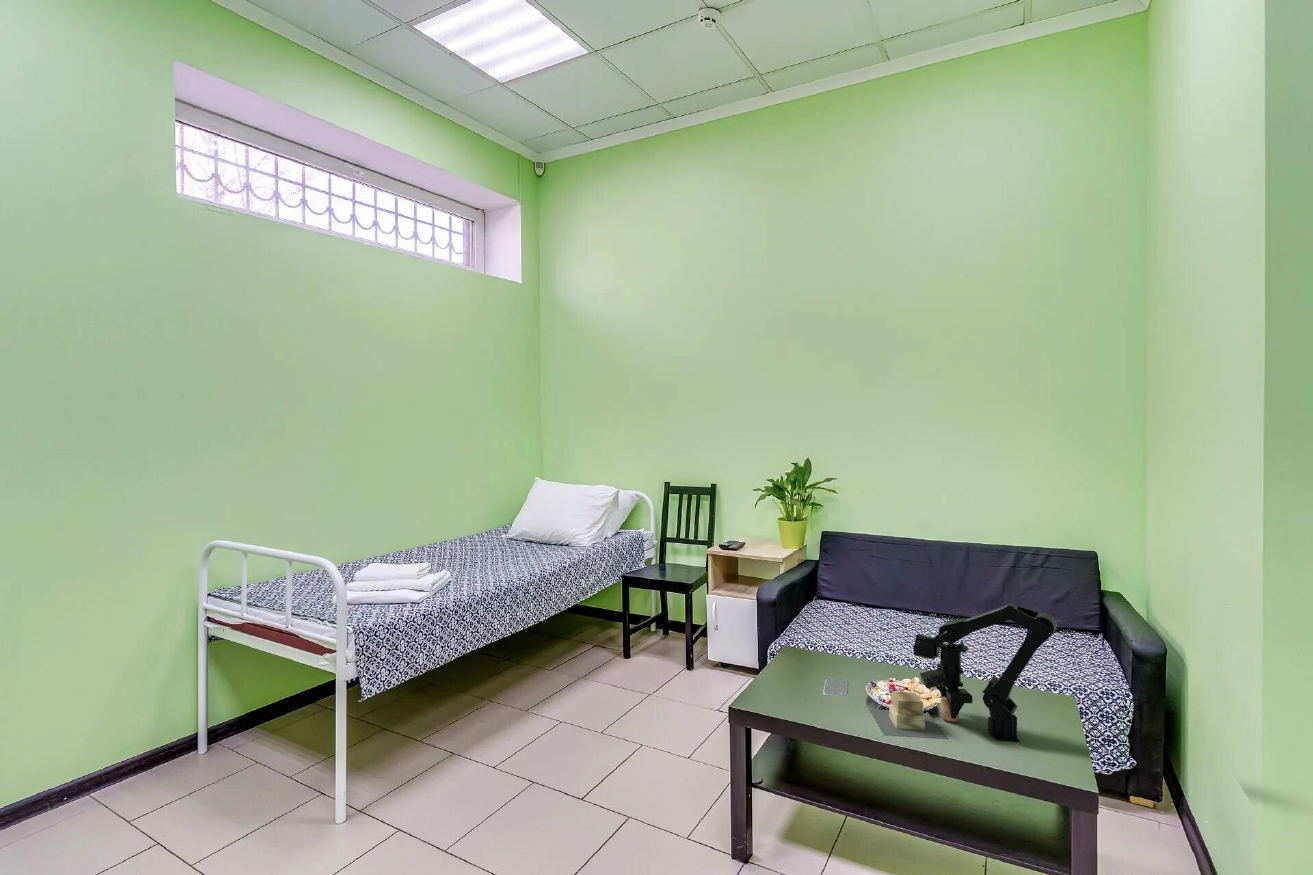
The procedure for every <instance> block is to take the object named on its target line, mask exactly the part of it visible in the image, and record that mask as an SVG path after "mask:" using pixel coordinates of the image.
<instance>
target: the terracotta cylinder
mask: <svg viewBox="0 0 1313 875" xmlns="http://www.w3.org/2000/svg"><path fill="white" fill-rule="evenodd" d="M940 718H941V719H943V720H944V721H947V722H952V723H953V722H954V723H956V722H959V721H960V712H959V713H958V715H957V716H956V718H955V719H952V718H951V714H950V707H949V701H948V700H947V699H946V698H945V697H942V698H941V697H940Z"/></svg>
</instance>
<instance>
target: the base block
mask: <svg viewBox="0 0 1313 875" xmlns="http://www.w3.org/2000/svg"><path fill="white" fill-rule="evenodd" d="M888 708H889V709H888V710H889V717H890V719H891V720H892V722H893V723H894V725H895V726H896V728H897V729H914V730H925V716H924V715H923V716H920V715H902V714H898V713H897V712H896V710H895V709H894V707H893V706H892V703H889V707H888Z"/></svg>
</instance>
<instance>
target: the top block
mask: <svg viewBox="0 0 1313 875" xmlns="http://www.w3.org/2000/svg"><path fill="white" fill-rule="evenodd" d="M891 704H892V706H893V707H894V709H895V710H896V712H897V713H898V714H902V715H920V716H923V712H924V711H923V710H924V709H923V708H924V707H923V706H924V702H923V700H922V699H921V698H920V697H919V695H918V694H917V692H913V691H912V692H909V691H891Z"/></svg>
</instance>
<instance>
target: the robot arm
mask: <svg viewBox="0 0 1313 875" xmlns="http://www.w3.org/2000/svg"><path fill="white" fill-rule="evenodd" d="M1006 621H1012V622H1014V623H1016V624H1017V625H1019V626H1021V627H1022V628H1024V629H1027V632H1026V634H1025V638H1024V640H1023V642H1022V643H1021V645H1020V647H1019V649H1018V650H1017V652H1016V653H1015V654H1014V656H1013V657H1012V659H1011V661H1010V662H1009V664H1008V665H1007V667H1006V668H1005V670H1004V671H1003V672H1002V675H1001V676H1000V677H998V678H997V677H996V676H995V675H992V677H991V678H990V680H989V681H988V683H987V684H986V686H985V687H984V688H983V690H982V693H983V695H982V701H983V704H984V705H985V706H986V708H987V709H988V710H989V716H988V718H987V728H986V729H987V730H986V731H987V732H988V733H989V734H990V735H991V736H992V737H993V738H994V740H997V741H1007V742H1009V741H1010V742H1020V741H1021V740H1020V738H1019V737H1018V717H1017V716H1016V715H1015V713H1016V711H1017V709H1018V705H1017V703H1015V701H1013V699H1012V698H1011V694H1012V692H1013V689H1014V685H1015V684H1016V682H1017V680H1018V678H1019V677H1020V675H1021V674H1022V672H1023V671H1024V669H1025V667H1026V666H1027V665H1028V663H1029V662H1030V660H1031V658H1032V657H1033V656H1034V654H1036V651H1038V650H1037V649H1039V648H1040V647H1041V646H1042V645H1043V644H1045V643H1046V642H1047V641H1048V639H1050V638H1051V637H1052V635H1053V634H1054V633H1055V632H1056V629H1058V628H1057V627H1058V621H1057V619H1056V618H1055V617H1054V616H1053V615H1052V614H1051V613H1048V612H1038V611H1036V610H1033V609H1030V608H1026V607H1023V606H1019V605H1017V604H1015V603H1008V604H1007V603H1006V605H1004V606H1001V607H998V608H995V609H992V610H989V611H986V612H983V613H980V614H977V615H974V616H971V617H967V618H956V619H950V620H947V621H945V622H944V623H943V624H942V625H940V626H939V629H938V634H937V635H935V636H934V637H932V636H927V635H923V634H920V633H919V634H918V633H917V634H916V635H915V640H914V644H913V646H912V647H913V648H912V650H913V654H914V657H919V658H924V659H927V660H933V661H935V660H936V658H939V657H940V658H939V660H940V661H939V663H937V665H936V668H935V669H930V670H926V671H924V672H923V671H922V672H921V673H919V676H920V679H921V682H922V685H924V687H925V688H926V689H932V688H936V689H937V690H938V691H939V694H940V699H941V698H942V697H945V698H946V699H947V700H948V701H949V707H950V714H951V718H952V719H955V718H956V716H957V715H958V713H959V714H960V711H961V710H962V709H963V706H964V705H965V704H973V697H974V696H973V695H972V694H971V693H970V692H969V691H968V690H966V688H964V683H963V682H962V680H961V679H962V678H961V677H962V676H961V675H962V674H964V669H963V668H962V653H967V652H968V651H969V647H968V646H967V645H965V643H964V641H962V642H960V643H959V644H958V643H956V642H959V641H960V640H961V639H963V638H965V637H966V636H968V635H970V634H972V633H974V632H977V631H979V630H982V629H985V628H989V627H991V626H994V625H995V626H996V625H998V624H1000V623H1004V622H1006ZM959 687H960V688H959Z"/></svg>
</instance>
